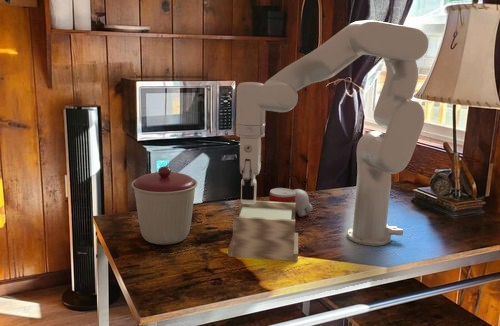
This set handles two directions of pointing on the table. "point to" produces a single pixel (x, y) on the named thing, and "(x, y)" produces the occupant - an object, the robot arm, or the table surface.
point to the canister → (164, 205)
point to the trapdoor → (266, 212)
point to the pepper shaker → (254, 192)
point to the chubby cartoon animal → (302, 203)
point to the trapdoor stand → (265, 234)
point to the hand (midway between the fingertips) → (248, 195)
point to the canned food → (282, 195)
